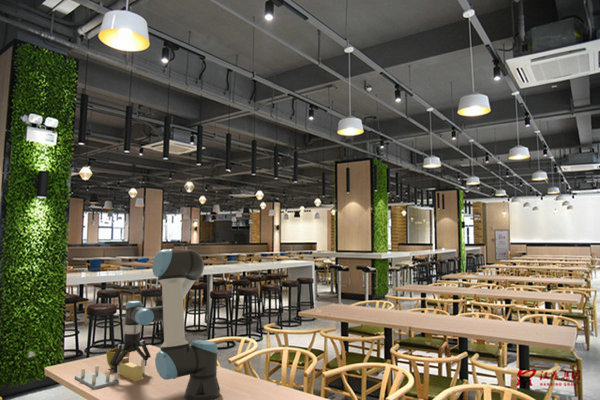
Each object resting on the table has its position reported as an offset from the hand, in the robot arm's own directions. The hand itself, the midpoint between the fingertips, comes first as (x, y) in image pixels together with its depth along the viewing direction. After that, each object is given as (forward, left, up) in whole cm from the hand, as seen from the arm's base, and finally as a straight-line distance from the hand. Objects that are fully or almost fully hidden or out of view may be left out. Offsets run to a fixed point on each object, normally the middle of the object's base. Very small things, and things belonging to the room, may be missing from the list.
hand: (129, 376), depth 206 cm
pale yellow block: (0, 0, 0) cm, 1 cm away
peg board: (+6, +15, 0) cm, 16 cm away
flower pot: (+19, -3, 0) cm, 19 cm away
